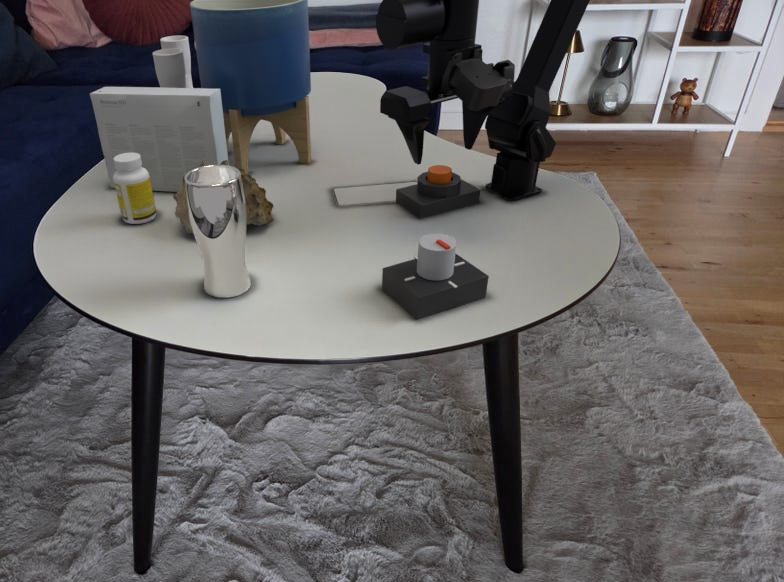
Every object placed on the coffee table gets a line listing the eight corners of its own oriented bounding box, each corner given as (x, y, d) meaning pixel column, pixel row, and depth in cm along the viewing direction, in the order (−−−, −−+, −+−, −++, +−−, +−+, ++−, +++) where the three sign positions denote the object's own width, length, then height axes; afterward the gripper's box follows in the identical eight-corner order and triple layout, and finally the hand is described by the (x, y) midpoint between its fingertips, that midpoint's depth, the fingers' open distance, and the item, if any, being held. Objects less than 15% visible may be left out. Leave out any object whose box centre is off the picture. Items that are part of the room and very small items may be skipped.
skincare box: (233, 183, 110) (221, 87, 100) (222, 196, 106) (209, 97, 96) (124, 176, 115) (103, 84, 105) (109, 188, 111) (86, 93, 101)
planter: (192, 171, 116) (167, 8, 100) (240, 137, 130) (224, -11, 113) (289, 182, 109) (278, 10, 93) (328, 145, 123) (324, -10, 107)
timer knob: (409, 268, 78) (411, 236, 76) (439, 259, 80) (442, 228, 77) (430, 284, 75) (433, 251, 72) (460, 274, 76) (464, 242, 74)
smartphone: (331, 188, 106) (419, 180, 107) (331, 191, 107) (419, 184, 107) (337, 206, 100) (430, 198, 101) (337, 210, 101) (430, 202, 101)
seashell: (174, 228, 100) (156, 168, 93) (259, 200, 103) (248, 140, 97) (194, 260, 92) (175, 197, 85) (285, 229, 95) (274, 165, 89)
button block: (452, 187, 104) (454, 164, 102) (479, 203, 99) (482, 178, 97) (395, 202, 101) (396, 178, 99) (420, 218, 96) (422, 193, 93)
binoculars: (196, 155, 122) (181, 54, 111) (168, 157, 122) (150, 56, 111) (202, 127, 136) (189, 34, 125) (176, 129, 136) (161, 36, 125)
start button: (441, 174, 100) (442, 163, 99) (455, 181, 97) (456, 170, 96) (422, 178, 99) (423, 168, 98) (436, 186, 96) (437, 175, 95)
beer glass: (202, 274, 85) (184, 166, 76) (253, 270, 86) (242, 161, 76) (199, 302, 80) (180, 188, 71) (254, 297, 80) (242, 183, 71)
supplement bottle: (163, 212, 102) (151, 152, 96) (146, 226, 98) (132, 164, 92) (134, 209, 103) (120, 149, 98) (116, 223, 99) (101, 161, 94)
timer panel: (445, 268, 84) (447, 246, 82) (487, 298, 78) (490, 275, 76) (380, 287, 81) (381, 265, 79) (418, 320, 74) (420, 298, 72)
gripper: (435, 60, 72) (426, 190, 82) (554, 33, 79) (533, 157, 88) (378, 44, 80) (377, 165, 89) (491, 21, 86) (478, 136, 96)
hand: (443, 156), depth 91 cm, fingers open, 9 cm apart
